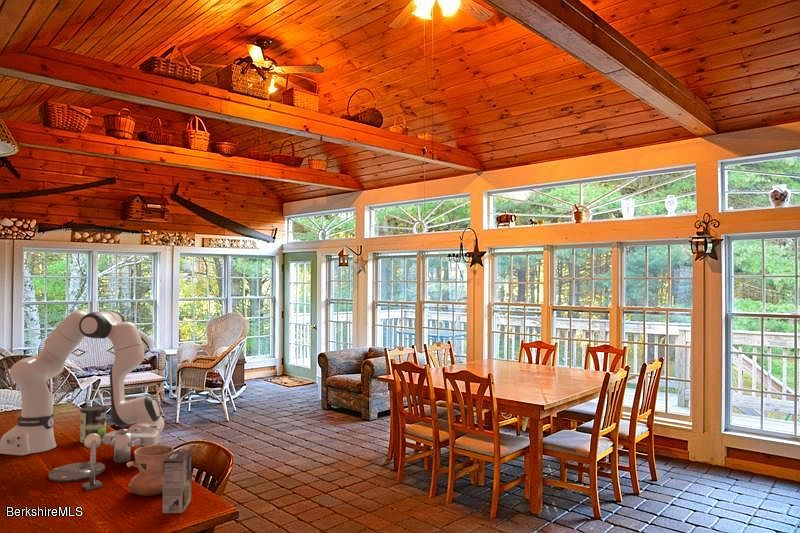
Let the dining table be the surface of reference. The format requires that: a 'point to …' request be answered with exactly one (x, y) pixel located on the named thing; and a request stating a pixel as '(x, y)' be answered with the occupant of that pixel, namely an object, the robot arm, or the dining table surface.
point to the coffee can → (93, 421)
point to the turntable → (75, 472)
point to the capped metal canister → (122, 446)
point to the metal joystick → (92, 460)
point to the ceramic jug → (149, 469)
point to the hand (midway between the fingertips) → (121, 444)
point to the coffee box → (176, 482)
